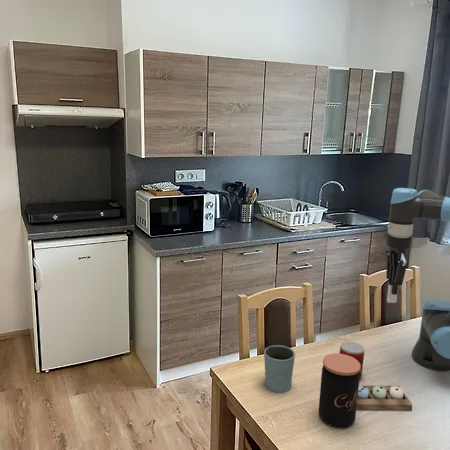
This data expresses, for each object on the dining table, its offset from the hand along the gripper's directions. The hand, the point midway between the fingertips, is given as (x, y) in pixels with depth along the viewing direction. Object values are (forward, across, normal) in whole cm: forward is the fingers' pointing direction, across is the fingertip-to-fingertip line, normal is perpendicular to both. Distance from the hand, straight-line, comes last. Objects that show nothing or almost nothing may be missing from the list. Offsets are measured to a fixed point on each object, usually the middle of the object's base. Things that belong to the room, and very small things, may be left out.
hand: (391, 301), depth 151 cm
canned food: (+27, +3, -13) cm, 30 cm away
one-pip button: (+26, +17, -2) cm, 31 cm away
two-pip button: (+26, +17, -8) cm, 32 cm away
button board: (+26, +17, -8) cm, 32 cm away
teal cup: (+27, +9, -39) cm, 48 cm away
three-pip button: (+26, +17, -14) cm, 34 cm away
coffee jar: (+27, +26, -24) cm, 44 cm away
